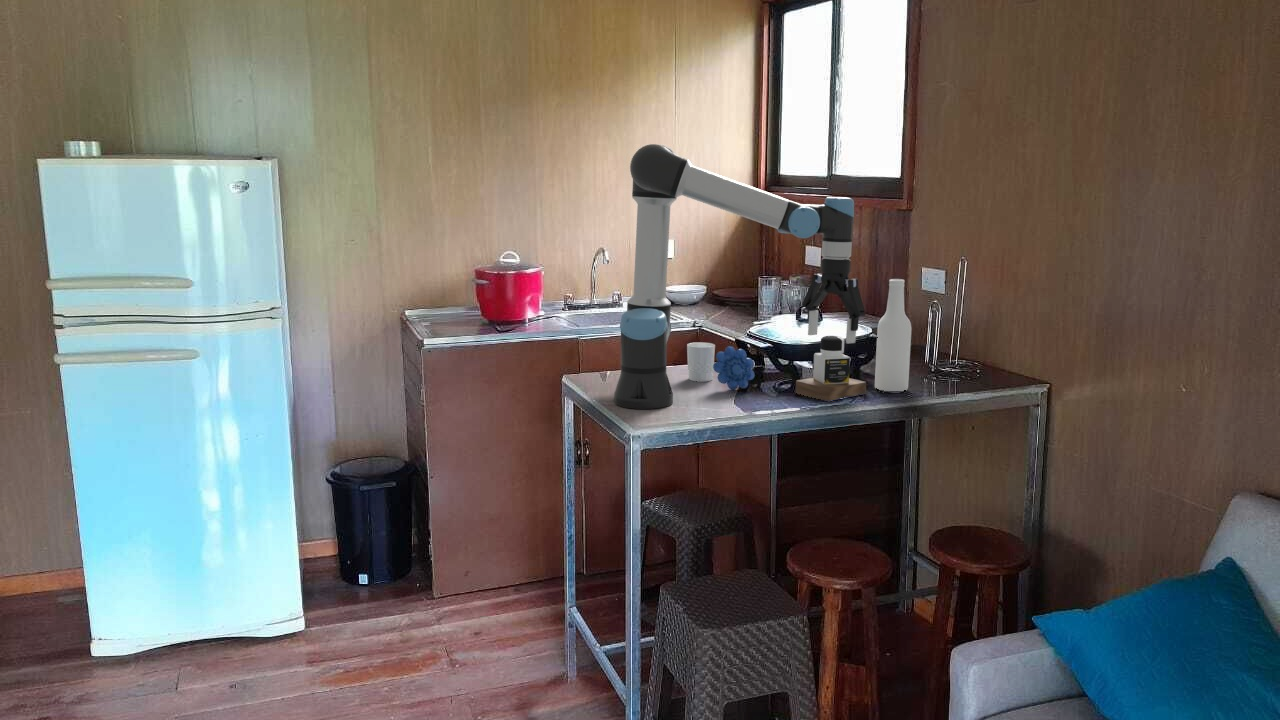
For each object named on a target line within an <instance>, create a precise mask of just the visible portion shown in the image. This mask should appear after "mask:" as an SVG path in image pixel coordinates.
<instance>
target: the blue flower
mask: <svg viewBox="0 0 1280 720" xmlns="http://www.w3.org/2000/svg"><path fill="white" fill-rule="evenodd" d="M715 357H716V362H714V365H713V372H715V373H718V374H717V380H718V382H719V383H720V384H724V385H725V384H726V386H727V387H728V388H729V390H730V389H731V390H736V389H737V388H738V387H739V388H741V389H746V388H747V387H748V386H749V381H752V380H753V379H754V378H755V374H756V373H755V372H754V370H753V369H752V368H754V366H755V362H754V360H753V359H752V358H751V357H747V353H746V351H745V349H742V348H739V349H737V350H736V348H734V346H730V345H729V346H727V347H725V350H724V351H718V352H717V353H716V356H715Z"/></svg>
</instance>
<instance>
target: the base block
mask: <svg viewBox="0 0 1280 720" xmlns="http://www.w3.org/2000/svg"><path fill="white" fill-rule="evenodd" d="M796 393H797V394H796ZM863 393H866V394H867V382H866V381H863V380H860V379H856V378H855V379H854V378H850V377H849V383H844V384H827V385H824V384H822V383H820V382H818V381H816V380H814V379H813V377H808V378H802V379H797V380H795V394H796V395H800V394H801V395H800V396H803V395H804V396H805V397H807V396H808V398H811V397H812V399H814V398H816V400H818V399H821V400H820V401H822V400H826V401H831V400H836V399H840V398H844V397H849V396H854V395H858V394H863Z"/></svg>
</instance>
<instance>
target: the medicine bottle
mask: <svg viewBox="0 0 1280 720" xmlns="http://www.w3.org/2000/svg"><path fill="white" fill-rule="evenodd" d="M844 353H845V339H844V338H843V337H842V336H838V335H825V336H823V337H821V338H820V352H815V353H814V354H813V375H812V376H813V377H812V378H813V379H814V380H816V381H818V382H820V383H822V384H824V385H827V384H844V383H849V378H850V367H851V366H850V365H851V363H850V362H851V357H850V356H848V355H845V354H844Z"/></svg>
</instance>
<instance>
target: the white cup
mask: <svg viewBox="0 0 1280 720" xmlns="http://www.w3.org/2000/svg"><path fill="white" fill-rule="evenodd" d="M686 350H687V351H686V353H687V354H686V355H687V357H686V358H687V370H688V380H689V381H692V382H696V381H697V382H699V383H701V382H702V383H704V382H705V383H706V382H710V381H713V377H714V376H713V373H714V368H713V365H714V363H715V350H716V344H714V343H711V342H701V341H700V342H699V341H698V342H690V343H687V344H686Z"/></svg>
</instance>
